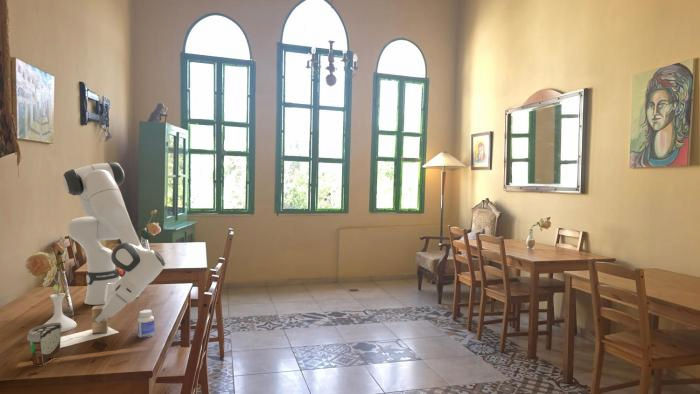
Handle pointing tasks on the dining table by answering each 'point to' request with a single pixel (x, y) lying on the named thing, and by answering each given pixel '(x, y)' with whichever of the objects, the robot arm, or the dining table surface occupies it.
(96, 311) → the sanding block
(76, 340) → the board
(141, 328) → the pill bottle
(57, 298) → the flower in vase
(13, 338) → the dining table surface
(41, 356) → the food container
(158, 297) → the dining table surface
